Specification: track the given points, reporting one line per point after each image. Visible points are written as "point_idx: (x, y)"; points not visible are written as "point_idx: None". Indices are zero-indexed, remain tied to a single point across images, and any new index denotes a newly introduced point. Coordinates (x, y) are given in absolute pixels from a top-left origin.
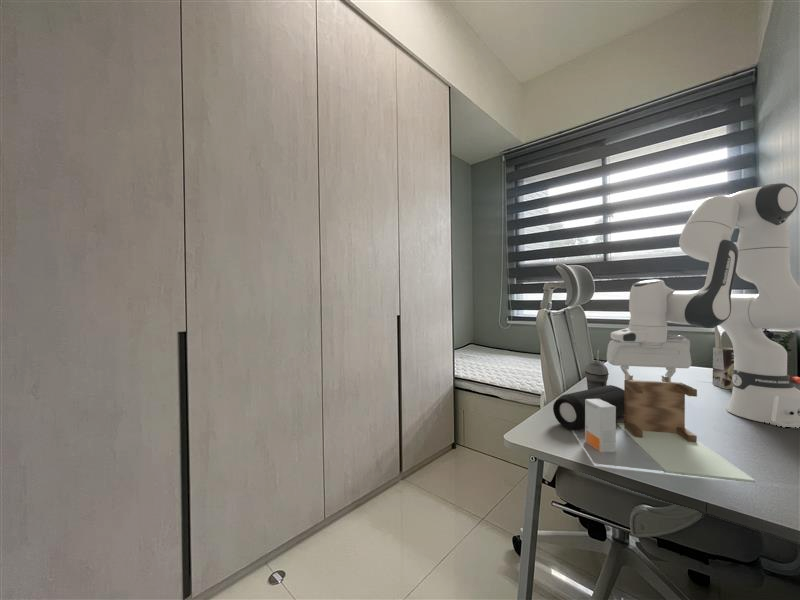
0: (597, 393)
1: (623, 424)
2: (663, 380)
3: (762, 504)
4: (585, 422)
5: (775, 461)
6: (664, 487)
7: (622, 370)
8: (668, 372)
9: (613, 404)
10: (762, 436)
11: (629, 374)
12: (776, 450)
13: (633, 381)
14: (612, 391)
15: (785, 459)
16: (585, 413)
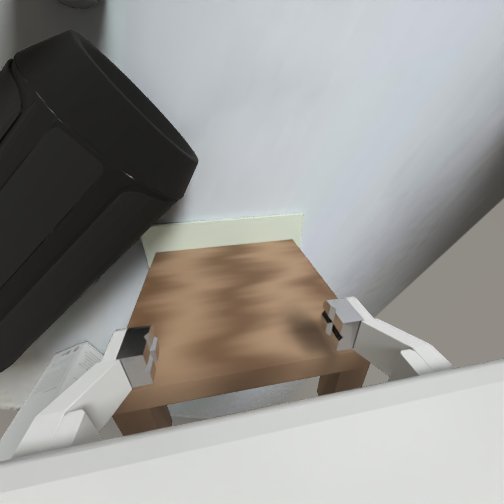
0: (2, 309)
1: (157, 233)
2: (328, 316)
3: (261, 402)
4: (24, 405)
5: (368, 306)
6: (170, 414)
7: (68, 395)
8: (387, 350)
9: (103, 271)
10: (459, 199)
11: (134, 368)
12: (412, 264)
13: (147, 404)
14: (82, 234)
15: (391, 294)
16: (5, 435)
